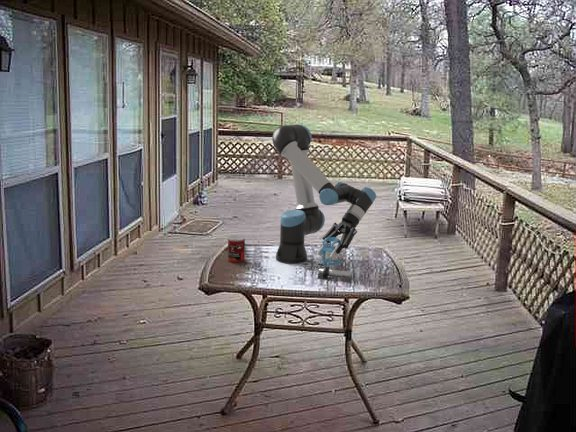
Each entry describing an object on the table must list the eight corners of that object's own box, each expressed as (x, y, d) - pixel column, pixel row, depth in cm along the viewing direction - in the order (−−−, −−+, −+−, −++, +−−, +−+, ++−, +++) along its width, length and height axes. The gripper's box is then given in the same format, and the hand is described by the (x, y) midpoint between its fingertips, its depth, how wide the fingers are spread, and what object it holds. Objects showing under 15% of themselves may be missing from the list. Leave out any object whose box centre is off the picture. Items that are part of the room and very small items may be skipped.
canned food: (224, 261, 293) (225, 238, 291) (232, 257, 300) (233, 235, 298) (239, 263, 290) (240, 240, 288) (247, 259, 297) (247, 237, 295)
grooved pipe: (317, 278, 272) (318, 267, 271) (320, 275, 277) (320, 265, 276) (350, 282, 268) (350, 271, 267) (351, 279, 273) (352, 268, 272)
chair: (318, 264, 280) (319, 238, 277) (329, 260, 286) (330, 234, 283) (332, 267, 275) (333, 241, 272) (342, 263, 281) (343, 237, 278)
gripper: (372, 226, 278) (345, 266, 272) (341, 217, 294) (314, 255, 287) (365, 215, 274) (336, 256, 267) (333, 208, 289) (306, 246, 283)
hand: (325, 256), depth 277 cm, fingers closed on chair, 7 cm apart
